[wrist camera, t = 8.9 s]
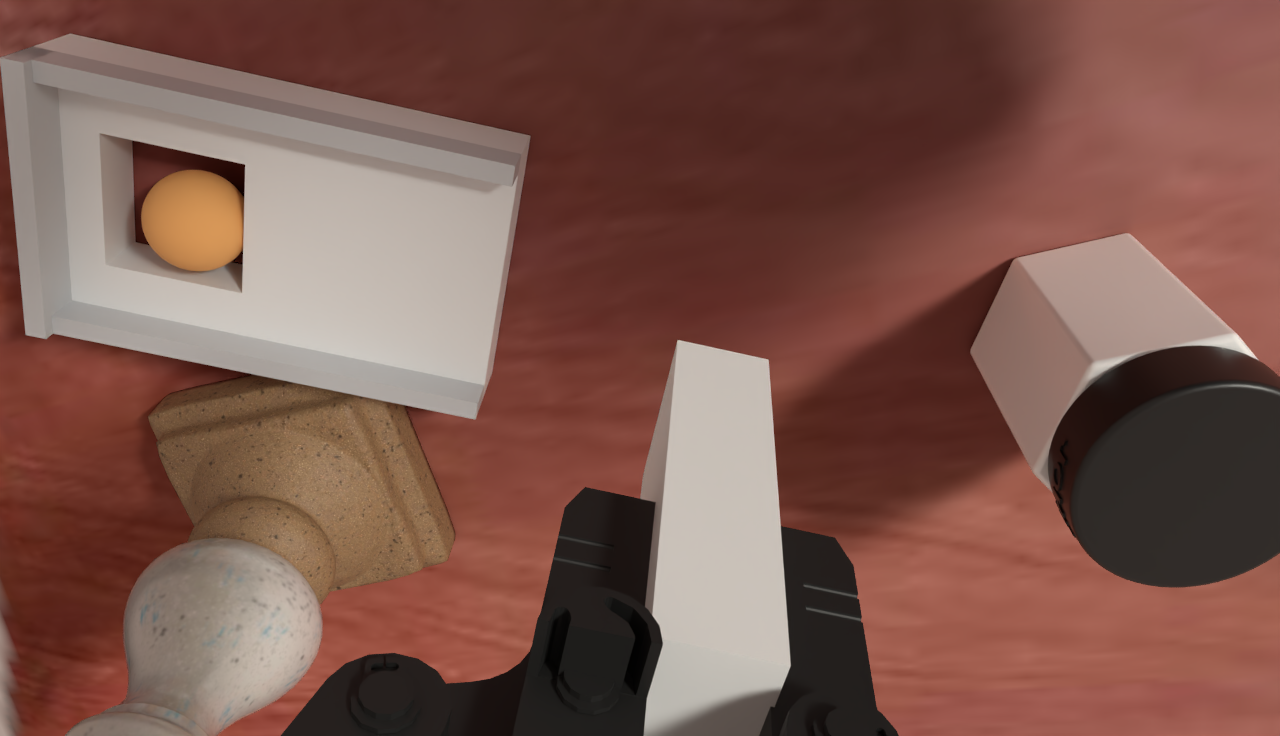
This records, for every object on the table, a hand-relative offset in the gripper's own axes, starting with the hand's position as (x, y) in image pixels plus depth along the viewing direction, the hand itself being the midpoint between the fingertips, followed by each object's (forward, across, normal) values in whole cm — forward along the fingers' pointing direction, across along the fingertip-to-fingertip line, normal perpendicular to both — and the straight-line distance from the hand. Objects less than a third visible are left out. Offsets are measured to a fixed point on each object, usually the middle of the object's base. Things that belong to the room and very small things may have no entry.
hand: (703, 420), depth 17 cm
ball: (+22, -19, -10) cm, 31 cm away
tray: (+24, -16, -10) cm, 30 cm away
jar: (+25, +17, -7) cm, 32 cm away
